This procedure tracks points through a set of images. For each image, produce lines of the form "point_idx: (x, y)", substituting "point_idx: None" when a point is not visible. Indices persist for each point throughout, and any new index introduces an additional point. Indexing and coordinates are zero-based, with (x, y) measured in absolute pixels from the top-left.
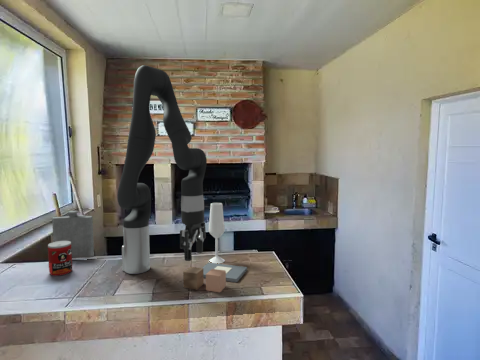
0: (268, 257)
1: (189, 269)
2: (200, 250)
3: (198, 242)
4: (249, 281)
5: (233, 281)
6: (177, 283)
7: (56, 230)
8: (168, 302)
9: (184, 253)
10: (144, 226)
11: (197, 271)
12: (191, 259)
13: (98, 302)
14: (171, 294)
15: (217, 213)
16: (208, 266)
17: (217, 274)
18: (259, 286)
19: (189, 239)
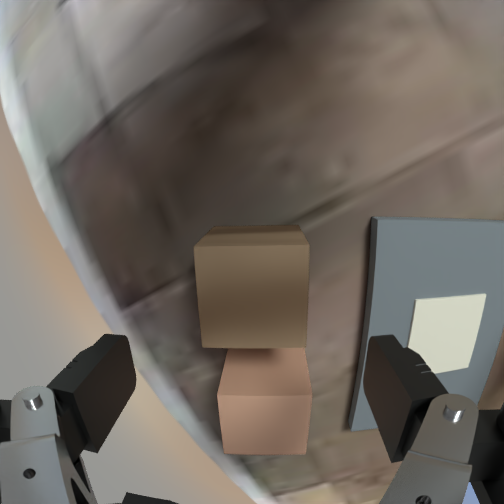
0: None
1: (252, 268)
2: (371, 386)
3: (403, 426)
4: (366, 448)
5: (350, 412)
6: (250, 164)
7: None
8: (66, 243)
9: (58, 375)
10: None
11: (237, 336)
12: (131, 389)
13: (14, 18)
14: (124, 211)
15: None
16: (480, 248)
17: (238, 441)
18: (328, 479)
19: (129, 502)
